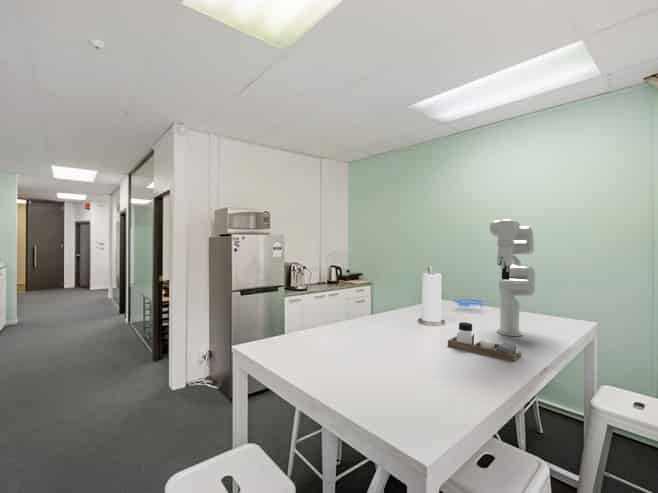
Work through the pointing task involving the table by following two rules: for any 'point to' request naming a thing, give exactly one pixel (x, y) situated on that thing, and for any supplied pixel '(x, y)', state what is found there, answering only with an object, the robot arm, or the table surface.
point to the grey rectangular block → (507, 348)
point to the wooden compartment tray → (483, 350)
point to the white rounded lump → (487, 344)
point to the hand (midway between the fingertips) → (505, 279)
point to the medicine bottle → (465, 333)
